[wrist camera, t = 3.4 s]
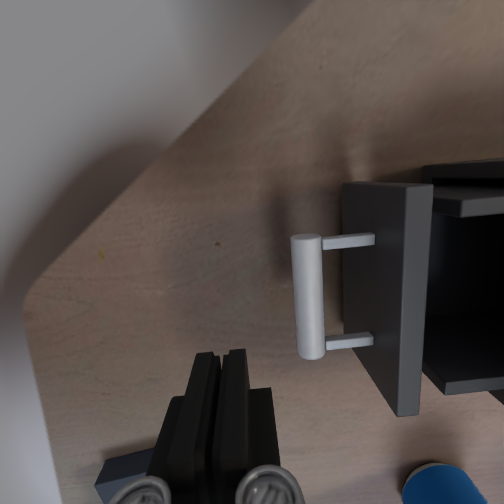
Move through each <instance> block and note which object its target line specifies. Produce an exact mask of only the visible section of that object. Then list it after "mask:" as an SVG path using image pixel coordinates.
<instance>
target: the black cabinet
mask: <svg viewBox="0 0 504 504" xmlns="http://www.w3.org/2000/svg"><path fill="white" fill-rule="evenodd" d="M494 180H504V158H494V159H484V160H474V161H463V162H453V163H443V164H433V165H425V166H424V178H423V184H433V186H443V185H453V184H463V183H474V182H484V181H494ZM488 392H489V393H491V394H492V395H493V396H494V397H495V398H496V399H497V400H499V401H500V402H501V403H502V404H503V405H504V389H500V390H490V391H488Z"/></svg>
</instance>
